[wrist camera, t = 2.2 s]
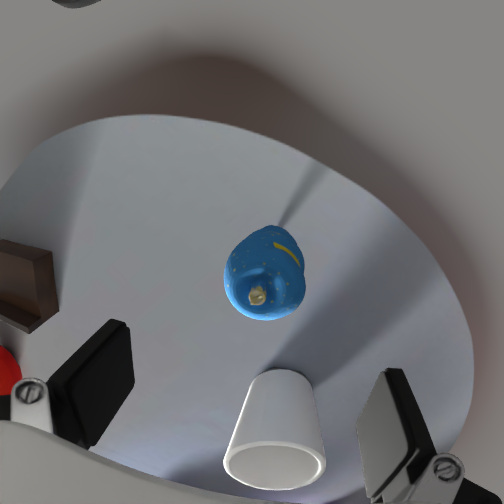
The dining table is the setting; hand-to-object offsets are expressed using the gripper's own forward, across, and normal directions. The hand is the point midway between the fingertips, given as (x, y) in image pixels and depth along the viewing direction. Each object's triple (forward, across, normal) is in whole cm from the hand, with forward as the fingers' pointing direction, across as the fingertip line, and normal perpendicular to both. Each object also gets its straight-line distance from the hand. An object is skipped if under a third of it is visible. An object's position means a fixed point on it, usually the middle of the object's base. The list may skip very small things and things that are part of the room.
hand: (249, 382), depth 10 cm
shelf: (+21, +34, +11) cm, 42 cm away
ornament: (+21, 0, 0) cm, 21 cm away
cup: (+21, -4, +18) cm, 28 cm away
